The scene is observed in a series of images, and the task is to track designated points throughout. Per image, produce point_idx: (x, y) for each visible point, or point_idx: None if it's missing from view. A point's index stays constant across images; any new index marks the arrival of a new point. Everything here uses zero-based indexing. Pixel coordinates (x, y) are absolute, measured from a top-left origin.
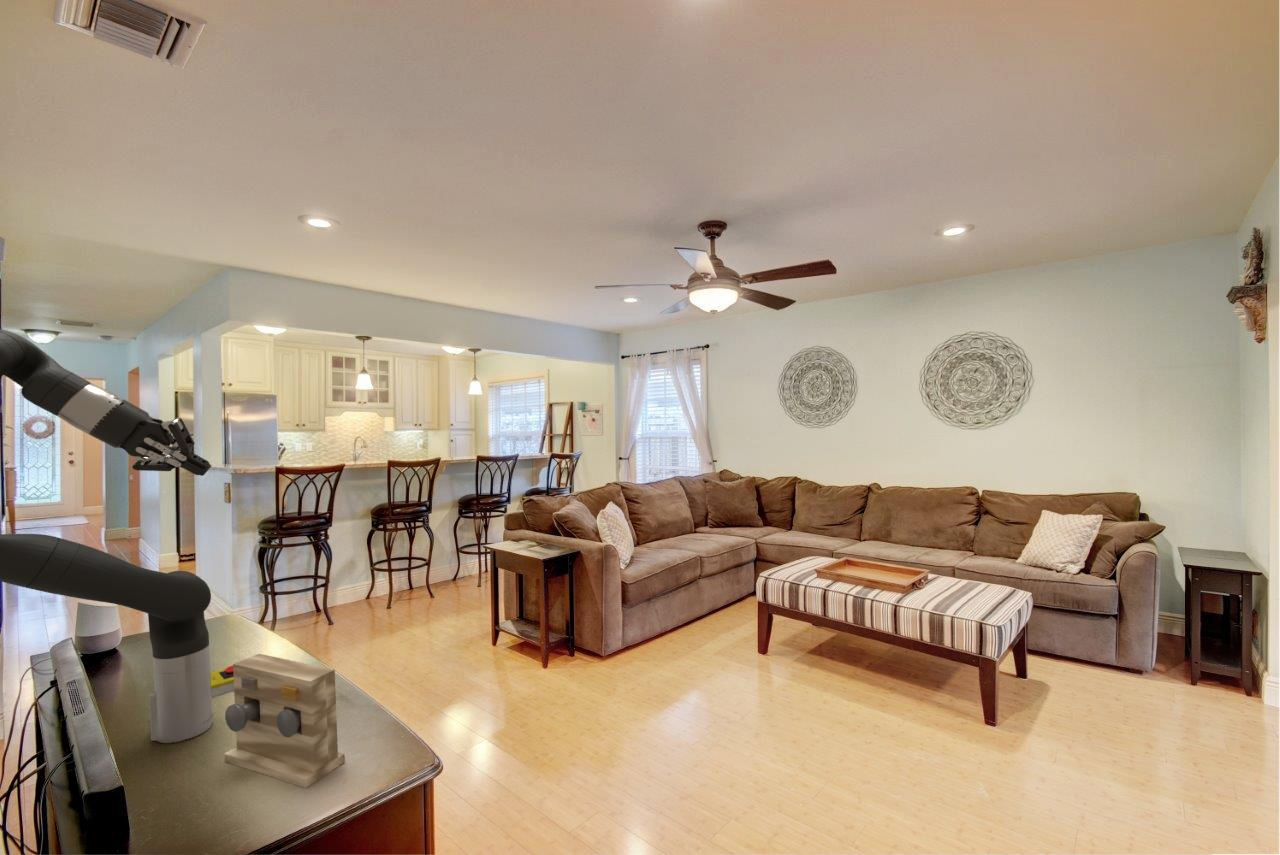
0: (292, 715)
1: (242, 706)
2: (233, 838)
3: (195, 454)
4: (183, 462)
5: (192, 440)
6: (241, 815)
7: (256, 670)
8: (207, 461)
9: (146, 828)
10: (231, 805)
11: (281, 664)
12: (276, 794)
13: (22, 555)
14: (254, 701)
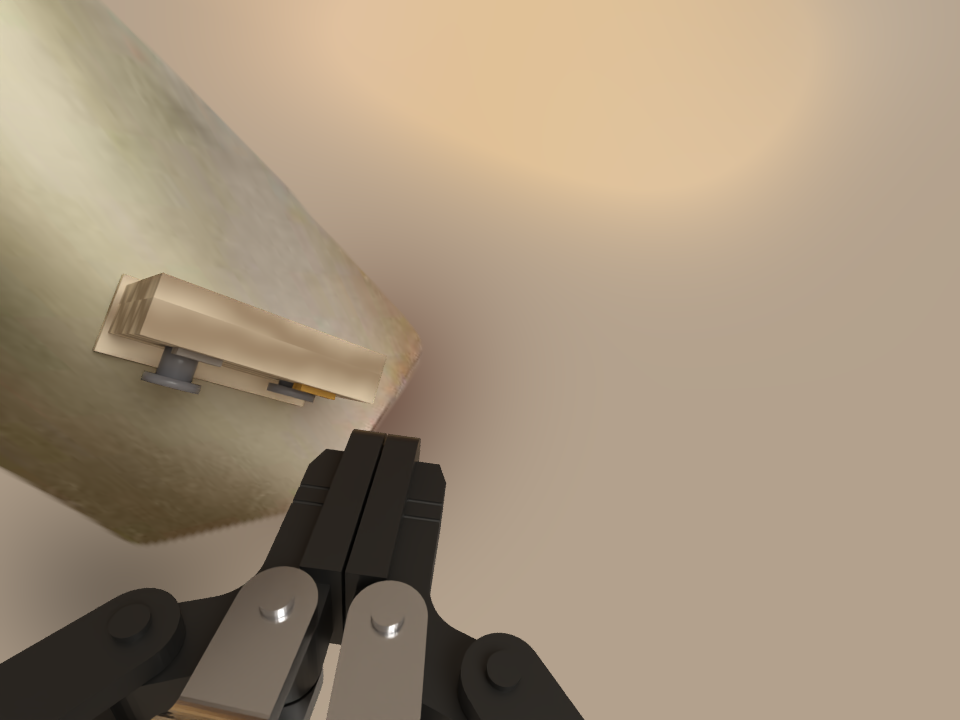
0: (312, 400)
1: (181, 371)
2: (268, 507)
3: (431, 576)
4: (327, 638)
5: (557, 693)
6: (245, 469)
7: (227, 360)
8: (445, 485)
9: (110, 522)
10: (212, 454)
11: (270, 336)
12: (264, 423)
13: None
14: None
